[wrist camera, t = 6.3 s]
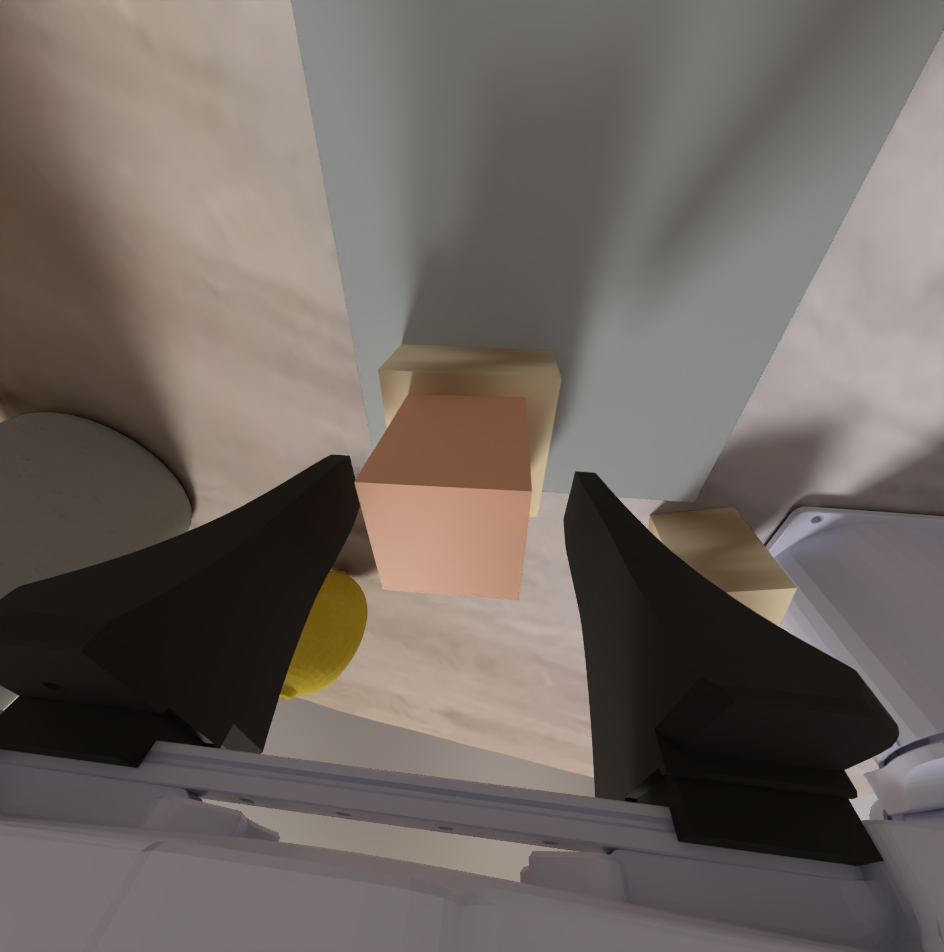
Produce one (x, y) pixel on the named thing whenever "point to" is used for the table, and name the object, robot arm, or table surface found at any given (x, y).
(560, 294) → the board
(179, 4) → the table surface
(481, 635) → the table surface
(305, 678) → the lemon
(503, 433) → the terracotta block
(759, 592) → the birch block
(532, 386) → the block
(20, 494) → the water bottle
